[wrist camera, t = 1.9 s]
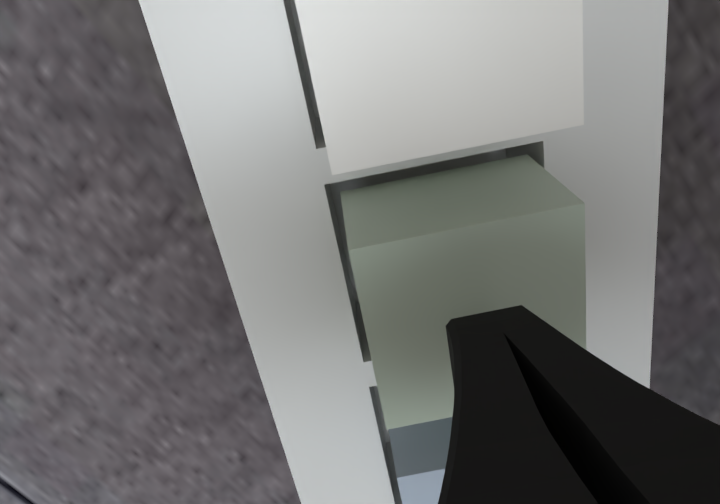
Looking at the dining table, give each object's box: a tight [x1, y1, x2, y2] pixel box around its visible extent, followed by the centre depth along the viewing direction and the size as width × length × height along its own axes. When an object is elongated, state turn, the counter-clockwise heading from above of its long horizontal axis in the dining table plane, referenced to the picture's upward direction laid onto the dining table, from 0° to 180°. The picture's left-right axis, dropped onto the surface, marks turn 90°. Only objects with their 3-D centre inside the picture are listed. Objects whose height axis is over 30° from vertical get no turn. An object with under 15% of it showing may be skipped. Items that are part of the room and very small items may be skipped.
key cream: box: [295, 0, 584, 175], centre depth 10 cm, size 4×4×3 cm
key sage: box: [340, 154, 586, 430], centre depth 12 cm, size 4×4×3 cm
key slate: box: [388, 417, 452, 504], centre depth 15 cm, size 4×4×3 cm
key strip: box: [139, 0, 668, 504], centre depth 14 cm, size 10×24×3 cm, turn 10°
